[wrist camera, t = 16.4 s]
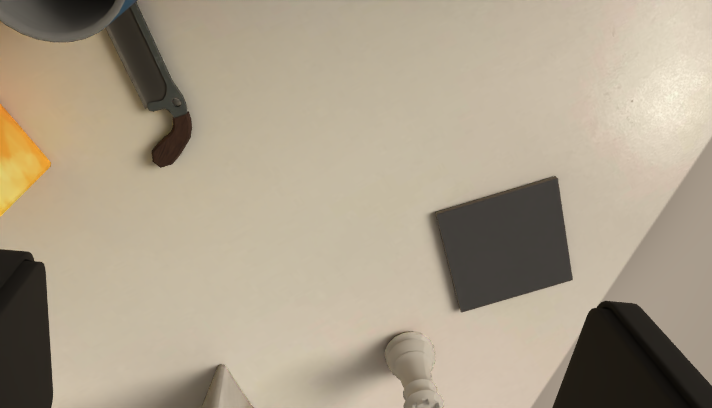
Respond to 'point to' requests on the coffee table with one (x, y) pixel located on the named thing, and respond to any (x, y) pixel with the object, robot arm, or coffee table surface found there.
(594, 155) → the coffee table surface
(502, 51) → the coffee table surface
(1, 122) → the mottled yellow carton
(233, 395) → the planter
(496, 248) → the coaster
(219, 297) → the coffee table surface
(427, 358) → the rook chess piece
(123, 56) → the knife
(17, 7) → the cup
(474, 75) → the coffee table surface
